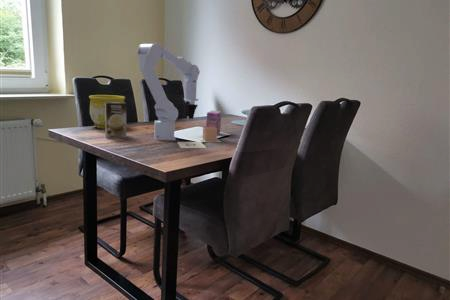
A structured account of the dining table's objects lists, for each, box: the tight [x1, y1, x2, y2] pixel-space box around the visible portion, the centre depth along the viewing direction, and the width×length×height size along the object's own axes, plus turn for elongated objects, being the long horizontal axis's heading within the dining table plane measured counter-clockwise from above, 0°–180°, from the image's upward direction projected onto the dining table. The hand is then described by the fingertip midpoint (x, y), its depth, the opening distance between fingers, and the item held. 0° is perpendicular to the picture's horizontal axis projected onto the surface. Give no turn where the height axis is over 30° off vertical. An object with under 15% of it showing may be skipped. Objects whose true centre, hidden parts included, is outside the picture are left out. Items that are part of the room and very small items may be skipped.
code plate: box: [177, 141, 207, 149], centre depth 150 cm, size 11×12×1 cm
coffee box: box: [104, 101, 127, 139], centre depth 158 cm, size 9×6×16 cm
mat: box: [200, 138, 222, 143], centre depth 162 cm, size 9×9×1 cm
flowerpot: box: [88, 94, 126, 130], centre depth 181 cm, size 18×18×16 cm
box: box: [205, 110, 222, 135], centre depth 179 cm, size 10×6×12 cm, turn 168°
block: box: [202, 126, 218, 141], centre depth 161 cm, size 6×6×6 cm
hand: (189, 117), depth 169 cm, fingers open, 7 cm apart
